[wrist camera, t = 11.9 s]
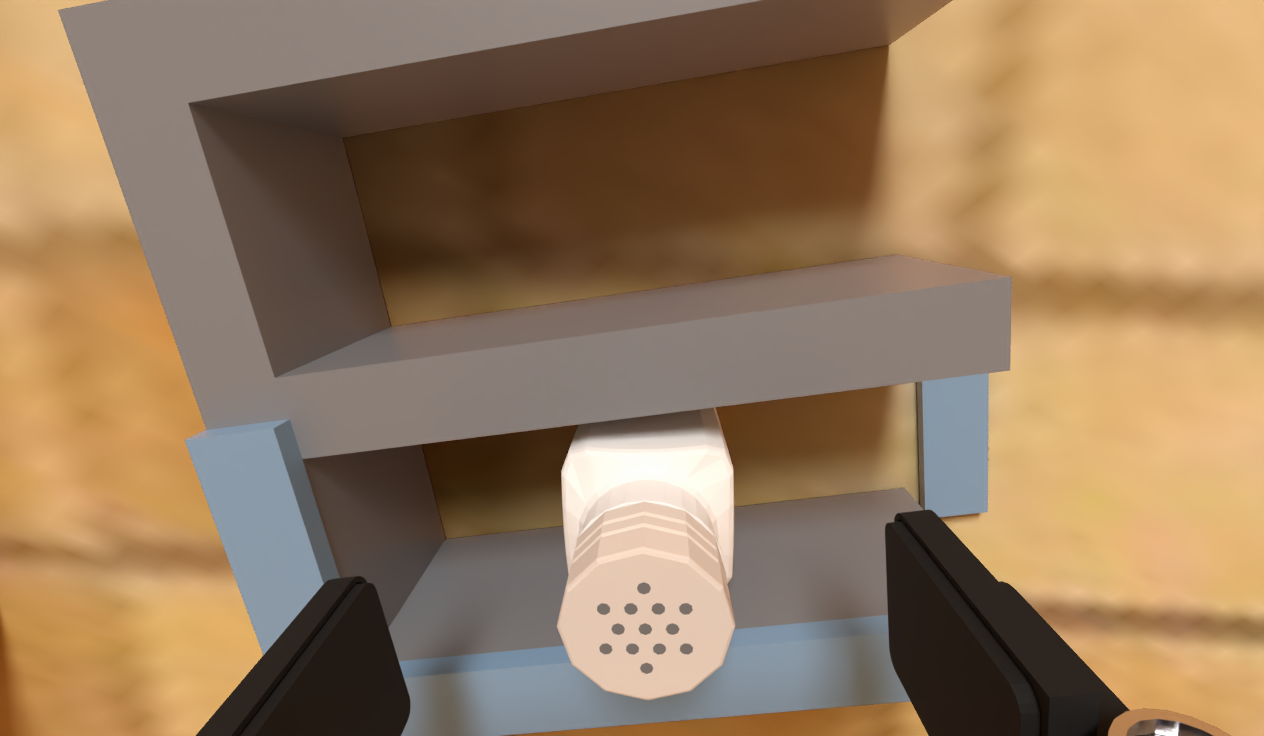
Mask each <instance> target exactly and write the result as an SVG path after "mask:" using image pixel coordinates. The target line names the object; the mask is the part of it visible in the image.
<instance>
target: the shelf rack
mask: <svg viewBox="0 0 1264 736" xmlns="http://www.w3.org/2000/svg"><path fill="white" fill-rule="evenodd" d="M951 1H952V0H107V1H102V2H97V3H92V4H86V5H81V6H76V7H71V8H66V9H61V10H58V12H59V14H60V17H61V20H62V23H63V26H64V29H65V31H66V34H67V37H68V40H69V43H70V45H71V48H72V51H73V54H74V57H75V60H76V62H77V65H78V68H79V71H80V74H81V77H82V79H83V82H84V85H85V88H86V91H87V93H88V96H89V99H90V102H91V105H92V108H93V110H94V113H95V116H96V119H97V122H98V125H99V127H100V130H101V133H102V136H103V139H104V141H105V144H106V147H107V150H108V153H109V156H110V158H111V161H112V164H113V167H114V170H115V173H116V175H117V178H118V181H119V184H120V187H121V189H122V192H123V195H124V198H125V201H126V204H127V206H128V209H129V212H130V215H131V218H132V221H133V223H134V226H135V229H136V232H137V235H138V237H139V240H140V243H141V246H142V249H143V252H144V254H145V257H146V260H147V263H148V266H149V269H150V271H151V274H152V277H153V280H154V283H155V285H156V288H157V291H158V294H159V297H160V300H161V302H162V305H163V308H164V311H165V314H166V317H167V319H168V322H169V325H170V328H171V331H172V333H173V336H174V339H175V342H176V345H177V348H178V350H179V353H180V356H181V359H182V362H183V365H184V367H185V370H186V373H187V376H188V379H189V381H190V384H191V387H192V390H193V393H194V396H195V398H196V401H197V404H198V407H199V410H200V413H201V415H202V418H203V421H204V424H205V427H206V429H207V430H204V431H202V432H200V433H198V434H196V435H194V436H192V437H190V438H188V439H186V440H185V442H186V445H187V448H188V450H189V453H190V456H191V459H192V461H193V464H194V467H195V470H196V472H197V475H198V478H199V480H200V483H201V486H202V489H203V491H204V494H205V497H206V500H207V502H208V505H209V508H210V511H211V513H212V516H213V519H214V521H215V524H216V527H217V530H218V532H219V535H220V538H221V541H222V543H223V546H224V549H225V552H226V554H227V557H228V560H229V562H230V565H231V568H232V571H233V573H234V576H235V579H236V582H237V584H238V587H239V590H240V593H241V595H242V598H243V601H244V603H245V606H246V609H247V612H248V614H249V617H250V620H251V623H252V625H253V628H254V631H255V633H256V636H257V639H258V642H259V644H260V647H261V650H262V653H263V655H264V654H265V653H266V652H267V651H268V649H269V648H270V647H271V646H272V645H273V644H274V642H275V641H276V640H277V639H278V638H279V636H280V635H281V634H282V633H283V632H284V630H285V629H286V628H287V627H288V626H289V625H290V623H291V622H292V621H293V620H294V619H295V617H296V616H297V615H298V614H299V613H300V612H301V610H302V609H303V608H304V607H305V606H306V604H307V603H308V602H309V601H310V600H311V598H312V597H313V596H314V595H315V594H316V593H317V591H318V590H319V589H320V588H321V587H322V585H323V584H324V583H325V582H327V581H328V580H330V579H336V578H345V577H354V576H362V577H364V578H365V580H366V581H367V583H372V584H373V585H374V586H375V587H376V590H377V593H378V596H379V599H380V602H381V606H382V609H383V612H384V615H385V619H386V622H387V625H388V628H389V632H390V635H391V638H392V641H393V644H394V648H395V651H396V654H397V657H398V661H399V664H400V667H401V670H402V674H403V677H404V680H405V683H406V686H407V690H408V693H409V696H410V703H411V707H410V715H409V719H408V721H407V724H406V726H405V728H404V730H403V732H402V735H401V736H503V735H515V734H527V733H539V732H551V731H563V730H575V729H586V728H598V727H610V726H622V725H634V724H646V723H658V722H670V721H682V720H694V719H706V718H718V717H730V716H741V715H753V714H765V713H777V712H789V711H801V710H813V709H825V708H837V707H849V706H861V705H873V704H885V703H897V702H908V701H910V699H909V697H908V695H907V693H906V691H905V689H904V687H903V685H902V683H901V682H900V680H899V678H898V676H897V674H896V672H895V670H894V667H893V664H892V661H891V657H890V651H889V631H888V603H887V576H886V548H885V526H886V524H887V523H890V522H894V518H895V515H896V514H897V513H902V512H911V511H920V510H932V511H933V512H935V513H936V514H937V515H938V517H947V516H956V515H965V514H975V513H984V512H988V373H993V372H1001V371H1009V370H1010V343H1011V283H1012V277H1010V276H1005V275H1000V274H995V273H989V272H984V271H979V270H974V269H969V268H963V267H958V266H953V265H948V264H943V263H938V262H932V261H927V260H922V259H917V258H912V257H906V256H901V255H890V256H883V257H876V258H869V259H862V260H855V261H848V262H841V263H834V264H827V265H820V266H813V267H806V268H799V269H792V270H785V271H778V272H771V273H764V274H757V275H750V276H743V277H736V278H729V279H722V280H715V281H708V282H701V283H694V284H687V285H680V286H673V287H666V288H659V289H652V290H644V291H637V292H630V293H623V294H616V295H609V296H602V297H595V298H588V299H581V300H574V301H567V302H560V303H553V304H546V305H539V306H532V307H525V308H518V309H511V310H504V311H497V312H490V313H483V314H476V315H469V316H462V317H455V318H448V319H441V320H434V321H427V322H420V323H413V324H406V325H399V326H392V327H391V325H390V321H389V317H388V313H387V309H386V305H385V301H384V297H383V293H382V290H381V286H380V282H379V278H378V274H377V270H376V266H375V262H374V258H373V255H372V251H371V247H370V243H369V239H368V235H367V231H366V227H365V223H364V219H363V216H362V212H361V208H360V204H359V200H358V196H357V192H356V188H355V184H354V181H353V177H352V173H351V169H350V165H349V161H348V157H347V153H346V149H345V145H344V142H343V137H349V136H355V135H361V134H367V133H373V132H379V131H385V130H390V129H396V128H402V127H408V126H414V125H420V124H426V123H432V122H438V121H443V120H449V119H455V118H461V117H467V116H473V115H479V114H485V113H490V112H496V111H502V110H508V109H514V108H520V107H526V106H532V105H538V104H543V103H549V102H555V101H561V100H567V99H573V98H579V97H585V96H590V95H596V94H602V93H608V92H614V91H620V90H626V89H632V88H638V87H643V86H649V85H655V84H661V83H667V82H673V81H679V80H685V79H690V78H696V77H702V76H708V75H714V74H720V73H726V72H732V71H738V70H743V69H749V68H755V67H761V66H767V65H773V64H779V63H785V62H790V61H796V60H802V59H808V58H814V57H820V56H826V55H832V54H838V53H843V52H849V51H855V50H861V49H867V48H873V47H879V46H885V45H890V44H891V43H893V42H894V41H896V40H897V39H898V38H900V37H901V36H903V35H904V34H905V33H907V32H908V31H910V30H911V29H913V28H914V27H915V26H917V25H918V24H920V23H921V22H922V21H924V20H925V19H927V18H928V17H930V16H931V15H932V14H934V13H935V12H937V11H938V10H939V9H941V8H942V7H944V6H945V5H947V4H948V3H949V2H951ZM913 382H917V408H918V447H919V486H920V505H919V504H918V503H917V502H916V501H915V500H914V498H913V497H912V496H911V495H910V494H909V493H908V492H907V490H906V489H905V488H899V489H890V490H881V491H872V492H863V493H854V494H845V495H836V496H827V497H818V498H809V499H800V500H791V501H782V502H773V503H764V504H756V505H747V506H738V507H734V553H733V573H732V578H731V579H730V581H729V582H728V584H727V585H728V589H729V594H730V600H731V605H732V610H733V615H734V621H735V629H734V632H733V635H732V638H731V641H730V644H729V647H728V650H727V653H726V656H725V659H724V662H723V664H722V666H720V667H719V668H718V669H717V670H716V671H714V672H713V673H712V674H711V675H710V676H708V677H707V678H706V679H705V680H703V681H702V682H701V683H700V684H699V685H697V686H696V687H695V688H694V689H693V690H691V691H689V692H684V693H680V694H675V695H671V696H666V697H661V698H657V699H652V700H644V699H639V698H635V697H630V696H626V695H621V694H617V693H612V692H608V691H604V690H603V689H602V688H601V687H599V686H598V685H597V684H596V683H594V682H593V681H592V680H591V679H589V678H588V677H587V676H586V675H584V674H583V673H582V672H580V671H579V670H578V669H577V668H575V667H574V666H573V665H572V664H571V661H570V659H569V656H568V654H567V651H566V649H565V646H564V643H563V641H562V638H561V636H560V633H559V631H558V628H557V622H558V618H559V614H560V610H561V605H562V601H563V597H564V592H565V588H566V584H567V580H568V576H569V573H568V566H567V559H566V550H565V539H564V528H563V526H559V527H550V528H541V529H532V530H523V531H514V532H505V533H496V534H487V535H478V536H469V537H460V538H451V539H445V535H444V531H443V527H442V523H441V519H440V516H439V512H438V508H437V504H436V500H435V496H434V492H433V488H432V484H431V480H430V477H429V473H428V469H427V465H426V461H425V457H424V453H423V449H422V445H421V444H427V443H435V442H443V441H451V440H459V439H467V438H475V437H483V436H491V435H499V434H507V433H515V432H522V431H530V430H538V429H546V428H554V427H562V426H570V425H578V424H586V423H594V422H602V421H610V420H618V419H626V418H634V417H642V416H650V415H658V414H666V413H674V412H682V411H690V410H698V409H706V408H714V407H722V406H730V405H738V404H746V403H754V402H762V401H770V400H778V399H786V398H794V397H802V396H810V395H817V394H825V393H833V392H841V391H849V390H857V389H865V388H873V387H881V386H889V385H897V384H905V383H913Z"/></svg>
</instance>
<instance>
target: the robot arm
mask: <svg viewBox="0 0 1264 736" xmlns="http://www.w3.org/2000/svg"><path fill="white" fill-rule="evenodd" d="M885 548H886V576H887V603H888V631H889V651H890V657H891V661H892V664H893V667H894V670H895V672H896V674H897V676H898V678H899V680H900V682H901V683H902V685H903V687H904V689H905V691H906V693H907V695H908V697H909V699H910V701H911V702H912V704H913V706H914V708H915V710H916V712H917V714H918V716H919V718H920V720H921V721H922V723H923V725H924V727H925V729H926V731H927V733H928V735H929V736H1231V735H1229V734H1227V733H1226V732H1224V731H1222V730H1221V729H1219V728H1217V727H1215V726H1212V725H1210V724H1208V723H1205V722H1203V721H1201V720H1198V719H1196V718H1193V717H1191V716H1187V715H1183V714H1180V713H1176V712H1172V711H1168V710H1160V709H1147V708H1143V709H1137V710H1131V711H1130V710H1129V709H1128V708H1127V707H1126V706H1125V705H1124V704H1123V703H1122V702H1121V701H1120V700H1119V698H1118V697H1117V696H1116V695H1115V694H1114V693H1113V692H1112V691H1111V690H1110V689H1109V688H1108V687H1107V686H1106V685H1105V684H1104V683H1103V682H1102V680H1101V679H1100V678H1099V677H1098V676H1097V675H1096V674H1095V673H1094V672H1093V671H1092V670H1091V669H1090V668H1089V667H1088V666H1087V665H1086V664H1085V662H1084V661H1083V660H1082V659H1081V658H1080V657H1079V656H1078V655H1077V654H1076V653H1075V652H1074V651H1073V650H1072V649H1071V648H1070V647H1069V646H1068V645H1067V643H1066V642H1065V641H1064V640H1063V639H1062V638H1061V637H1060V636H1059V635H1058V634H1057V633H1056V632H1055V631H1054V630H1053V629H1052V628H1051V627H1050V625H1049V624H1048V623H1047V622H1046V621H1045V620H1044V619H1043V618H1042V617H1041V616H1040V615H1039V614H1038V613H1037V612H1036V611H1035V610H1034V609H1033V607H1032V606H1031V605H1030V604H1029V603H1028V602H1027V601H1026V600H1025V599H1024V598H1023V597H1022V596H1021V595H1020V594H1019V593H1018V592H1017V591H1016V590H1015V589H1014V588H1013V587H1012V586H1011V585H1009V584H1008V583H1005V582H998V581H997V580H996V579H995V577H994V576H993V575H992V574H991V573H990V572H989V571H988V570H987V569H986V568H985V567H984V566H983V564H982V563H981V562H980V561H979V560H978V559H977V558H976V557H975V556H974V555H973V554H972V552H971V551H970V550H969V549H968V548H967V547H966V546H965V545H964V544H963V543H962V542H961V541H960V539H959V538H958V537H957V536H956V535H955V534H954V533H953V532H952V531H951V530H950V529H949V527H948V526H947V525H946V524H945V523H944V522H943V521H942V520H941V519H940V518H939V517H938V515H937V514H936V513H935V512H933V511H932V510H920V511H911V512H902V513H897V514H896V515H895V518H894V522H890V523H887V524H886V526H885ZM410 707H411V703H410V696H409V693H408V690H407V686H406V683H405V680H404V677H403V674H402V670H401V667H400V664H399V661H398V657H397V654H396V651H395V648H394V644H393V641H392V638H391V635H390V632H389V628H388V625H387V622H386V619H385V615H384V612H383V609H382V606H381V602H380V599H379V596H378V593H377V590H376V587H375V586H374V585H373V584H372V583H367V581H366V580H365V578H364V577H362V576H354V577H345V578H336V579H330V580H328V581H327V582H325V583H324V584H323V585H322V587H321V588H320V589H319V590H318V591H317V593H316V594H315V595H314V596H313V597H312V598H311V600H310V601H309V602H308V603H307V604H306V606H305V607H304V608H303V609H302V610H301V612H300V613H299V614H298V615H297V616H296V617H295V619H294V620H293V621H292V622H291V623H290V625H289V626H288V627H287V628H286V629H285V630H284V632H283V633H282V634H281V635H280V636H279V638H278V639H277V640H276V641H275V642H274V644H273V645H272V646H271V647H270V648H269V649H268V651H267V652H266V653H265V654H264V655H263V657H262V658H261V659H260V660H259V661H258V663H257V664H256V665H255V666H254V667H253V668H252V670H251V671H250V672H249V673H248V674H247V676H246V677H245V678H244V679H243V680H242V681H241V683H240V684H239V685H238V686H237V687H236V689H235V690H234V691H233V692H232V693H231V695H230V696H229V697H228V698H227V699H226V700H225V702H224V703H223V704H222V705H221V706H220V708H219V709H218V710H217V711H216V712H215V714H214V715H213V716H212V717H211V718H210V719H209V721H208V722H207V723H206V724H205V725H204V727H203V728H202V729H201V730H200V731H199V732H198V734H197V735H196V736H401V735H402V732H403V730H404V728H405V726H406V724H407V721H408V719H409V715H410Z"/></svg>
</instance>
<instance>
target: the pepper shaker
mask: <svg viewBox="0 0 1264 736" xmlns="http://www.w3.org/2000/svg"><path fill="white" fill-rule="evenodd" d="M561 482H562V509H563V528H564V539H565V550H566V559H567V566H568V573H569V576H568V580H567V584H566V588H565V592H564V597H563V601H562V605H561V610H560V614H559V618H558V622H557V628H558V631H559V633H560V636H561V638H562V641H563V643H564V646H565V649H566V651H567V654H568V656H569V659H570V661H571V664H572V665H573V666H574V667H575V668H577V669H578V670H579V671H580V672H582V673H583V674H584V675H586V676H587V677H588V678H589V679H591V680H592V681H593V682H594V683H596V684H597V685H598V686H599V687H601V688H602V689H603V690H604V691H608V692H612V693H617V694H621V695H626V696H630V697H635V698H639V699H644V700H652V699H657V698H661V697H666V696H671V695H675V694H680V693H684V692H689V691H691V690H693V689H694V688H695V687H696V686H697V685H699V684H700V683H701V682H702V681H703V680H705V679H706V678H707V677H708V676H710V675H711V674H712V673H713V672H714V671H716V670H717V669H718V668H719V667H720V666H722V664H723V662H724V659H725V656H726V653H727V650H728V647H729V644H730V641H731V638H732V635H733V632H734V629H735V621H734V615H733V610H732V605H731V600H730V594H729V589H728V585H727V584H728V582H729V581H730V579H731V578H732V573H733V553H734V469H733V465H732V462H731V458H730V455H729V451H728V448H727V445H726V441H725V438H724V434H723V431H722V427H721V424H720V421H719V417H718V414H717V410H716V407H714V408H706V409H698V410H690V411H682V412H674V413H666V414H658V415H650V416H642V417H634V418H626V419H618V420H610V421H602V422H594V423H586V424H578V427H577V429H576V432H575V435H574V438H573V440H572V443H571V446H570V448H569V451H568V454H567V457H566V459H565V462H564V465H563V467H562V470H561Z"/></svg>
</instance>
